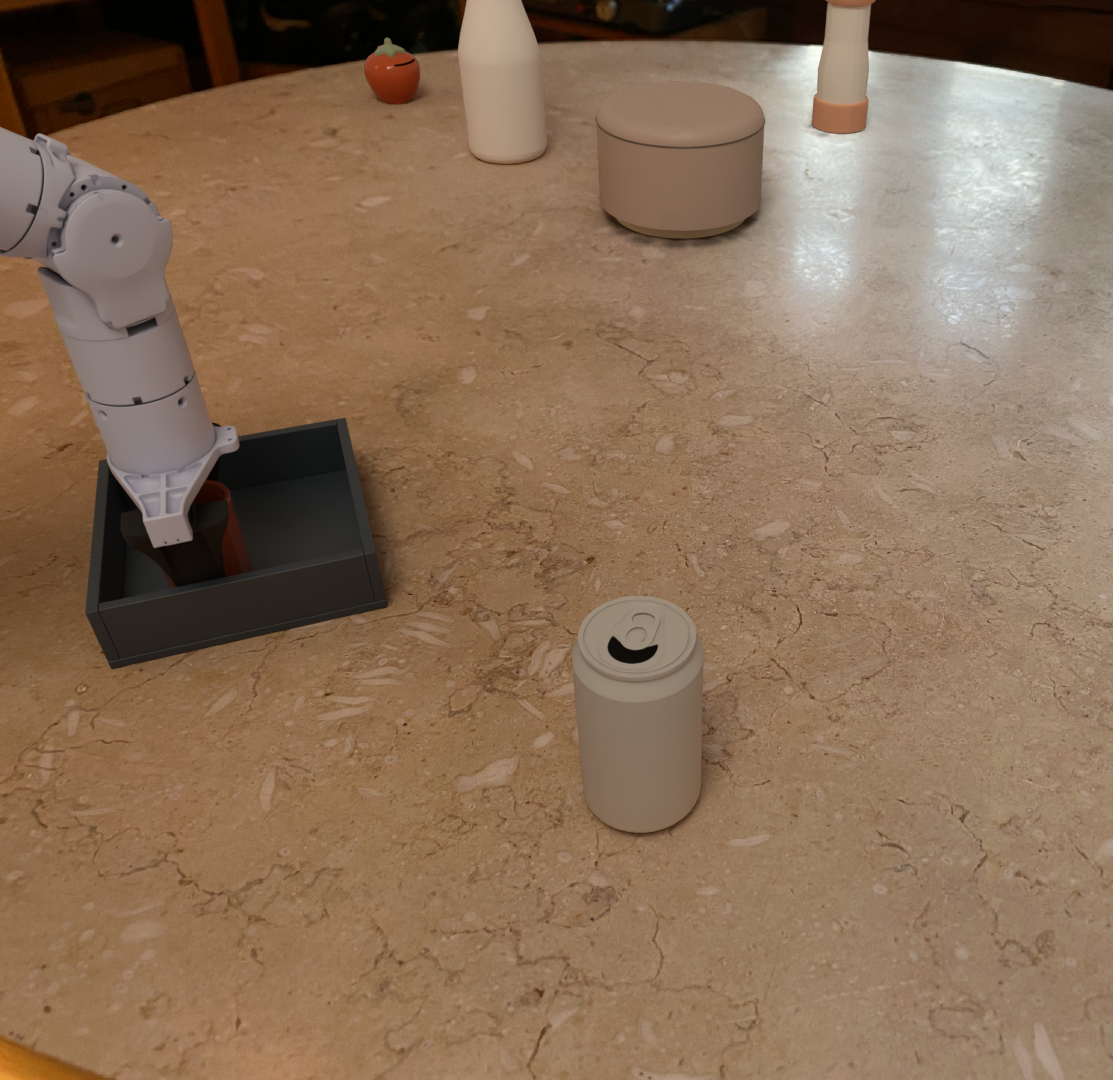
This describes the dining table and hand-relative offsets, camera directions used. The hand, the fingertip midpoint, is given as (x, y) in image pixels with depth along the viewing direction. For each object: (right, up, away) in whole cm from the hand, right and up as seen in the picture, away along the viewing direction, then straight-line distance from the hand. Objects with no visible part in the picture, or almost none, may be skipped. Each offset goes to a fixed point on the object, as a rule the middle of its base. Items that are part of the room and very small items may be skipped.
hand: (206, 565), depth 69 cm
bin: (+1, 0, +5) cm, 5 cm away
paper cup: (0, -2, +1) cm, 2 cm away
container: (+28, +38, +53) cm, 71 cm away
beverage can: (+28, -12, -10) cm, 32 cm away
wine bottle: (+7, +50, +66) cm, 83 cm away
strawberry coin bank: (-12, +62, +81) cm, 103 cm away
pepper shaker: (+49, +57, +77) cm, 107 cm away
